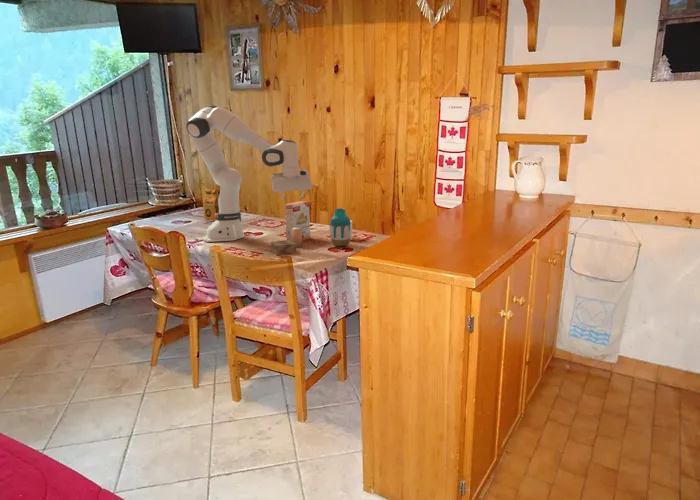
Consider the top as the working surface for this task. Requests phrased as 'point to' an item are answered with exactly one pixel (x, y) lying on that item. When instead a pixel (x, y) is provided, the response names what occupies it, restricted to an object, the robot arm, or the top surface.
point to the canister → (297, 236)
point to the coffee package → (210, 204)
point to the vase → (340, 228)
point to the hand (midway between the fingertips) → (292, 199)
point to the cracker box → (298, 218)
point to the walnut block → (283, 247)
